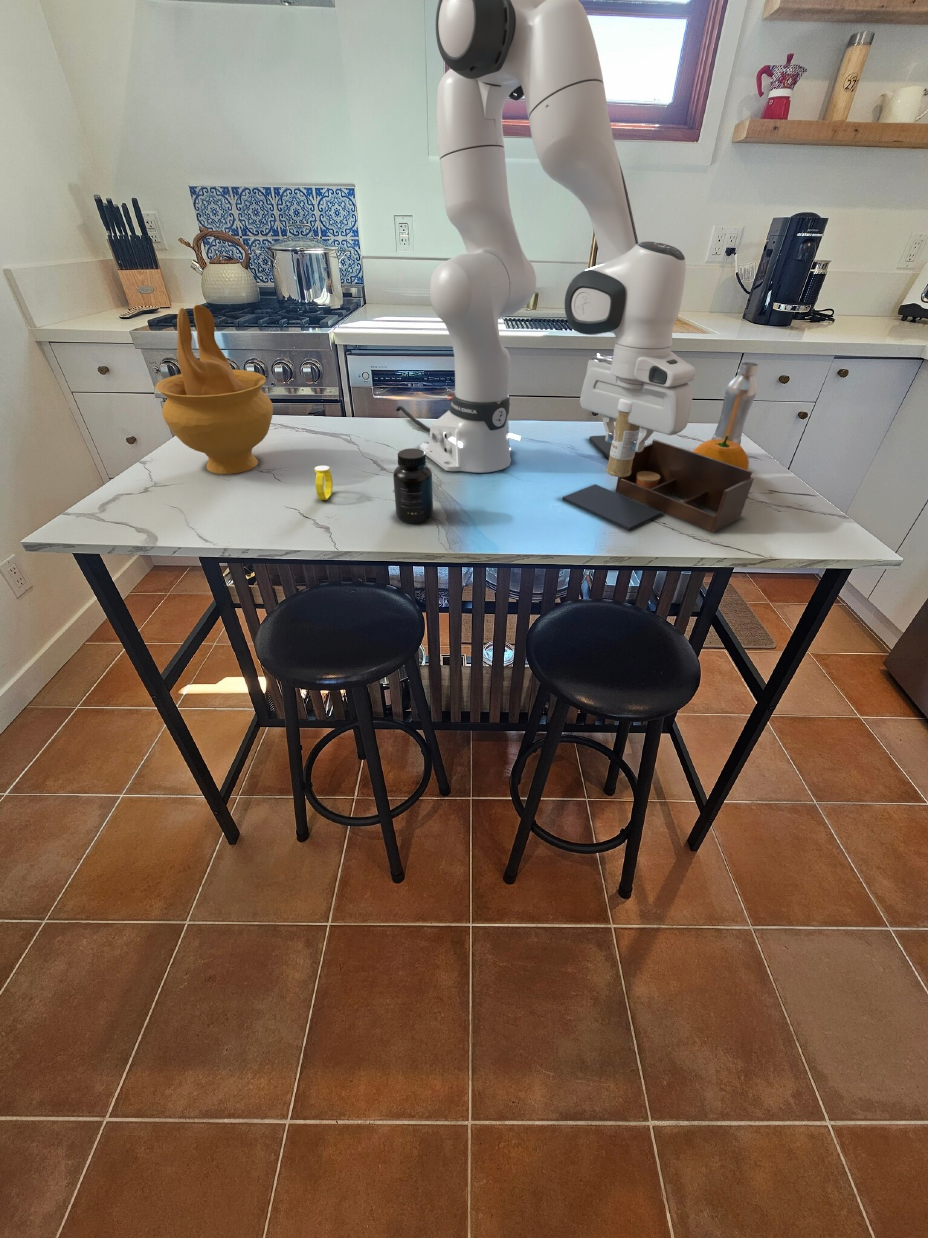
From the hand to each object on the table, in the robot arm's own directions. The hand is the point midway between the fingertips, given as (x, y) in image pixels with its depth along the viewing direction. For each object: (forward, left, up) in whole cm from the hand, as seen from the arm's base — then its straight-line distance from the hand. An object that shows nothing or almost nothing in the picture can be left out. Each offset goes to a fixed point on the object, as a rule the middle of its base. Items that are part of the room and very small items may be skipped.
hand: (623, 446), depth 98 cm
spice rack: (+7, +11, -12) cm, 18 cm away
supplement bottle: (-20, -32, -12) cm, 40 cm away
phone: (-19, +25, -12) cm, 34 cm away
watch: (-37, -41, -12) cm, 57 cm away
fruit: (+6, +26, -12) cm, 29 cm away
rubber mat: (0, 0, -12) cm, 12 cm away
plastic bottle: (-1, +42, -12) cm, 44 cm away
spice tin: (0, +11, -12) cm, 16 cm away
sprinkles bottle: (0, 0, -5) cm, 5 cm away
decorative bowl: (-64, -49, -12) cm, 82 cm away
